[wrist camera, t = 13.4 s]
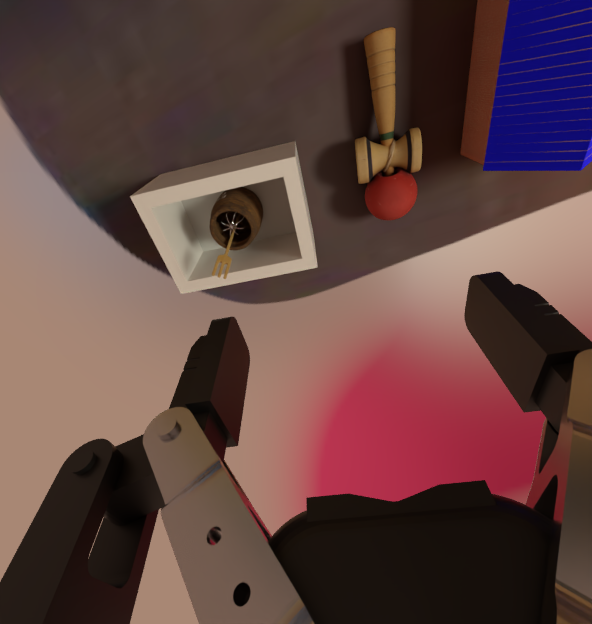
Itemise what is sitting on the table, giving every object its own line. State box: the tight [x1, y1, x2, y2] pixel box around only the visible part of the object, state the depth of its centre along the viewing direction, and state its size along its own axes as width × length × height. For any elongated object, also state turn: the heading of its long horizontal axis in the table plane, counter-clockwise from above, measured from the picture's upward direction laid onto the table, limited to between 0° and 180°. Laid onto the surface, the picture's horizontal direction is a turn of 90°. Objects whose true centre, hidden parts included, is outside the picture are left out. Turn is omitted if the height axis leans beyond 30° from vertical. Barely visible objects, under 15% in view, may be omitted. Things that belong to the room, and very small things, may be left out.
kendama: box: [355, 27, 422, 220], centre depth 34 cm, size 8×6×18 cm
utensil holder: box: [210, 187, 263, 279], centre depth 36 cm, size 6×6×12 cm
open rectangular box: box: [130, 141, 317, 294], centre depth 37 cm, size 12×17×9 cm
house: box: [460, 0, 592, 171], centre depth 27 cm, size 12×20×12 cm, turn 11°
